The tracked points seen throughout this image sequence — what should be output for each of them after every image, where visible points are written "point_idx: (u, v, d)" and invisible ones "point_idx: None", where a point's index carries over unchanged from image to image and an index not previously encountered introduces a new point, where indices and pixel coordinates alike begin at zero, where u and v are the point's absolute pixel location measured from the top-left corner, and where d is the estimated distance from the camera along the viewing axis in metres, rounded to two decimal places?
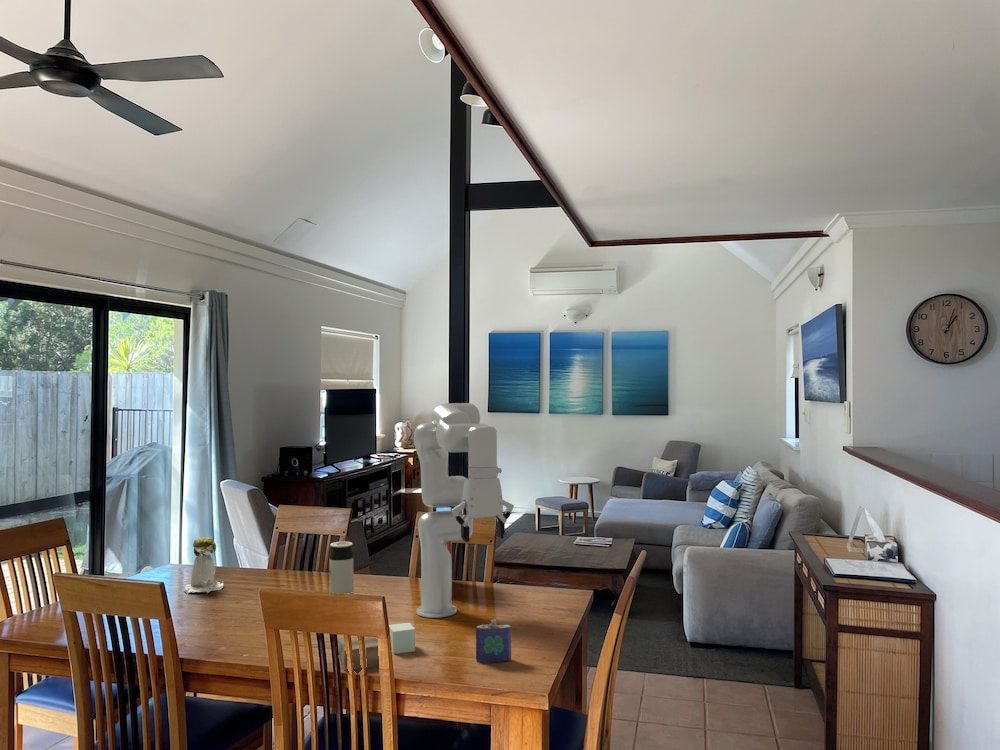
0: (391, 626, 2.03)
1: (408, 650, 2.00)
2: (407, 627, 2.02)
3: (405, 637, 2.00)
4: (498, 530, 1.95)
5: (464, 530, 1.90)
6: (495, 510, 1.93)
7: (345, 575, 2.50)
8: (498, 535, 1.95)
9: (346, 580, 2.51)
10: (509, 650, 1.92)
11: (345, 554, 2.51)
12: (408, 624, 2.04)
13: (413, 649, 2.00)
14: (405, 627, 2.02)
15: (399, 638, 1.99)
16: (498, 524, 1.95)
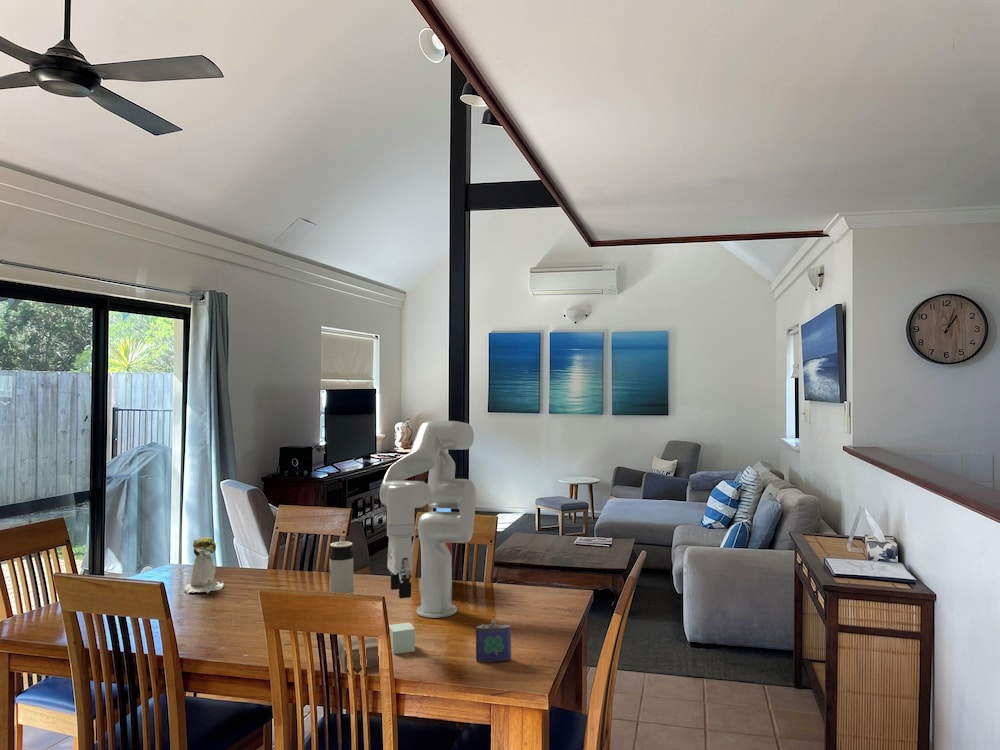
0: (391, 626, 2.03)
1: (408, 650, 2.00)
2: (407, 627, 2.02)
3: (405, 637, 1.99)
4: (396, 582, 2.06)
5: None
6: None
7: (345, 575, 2.50)
8: (396, 587, 2.06)
9: (346, 580, 2.51)
10: (509, 650, 1.92)
11: (345, 554, 2.51)
12: (408, 624, 2.04)
13: (413, 649, 2.00)
14: (405, 627, 2.02)
15: (399, 638, 1.99)
16: (397, 577, 2.06)
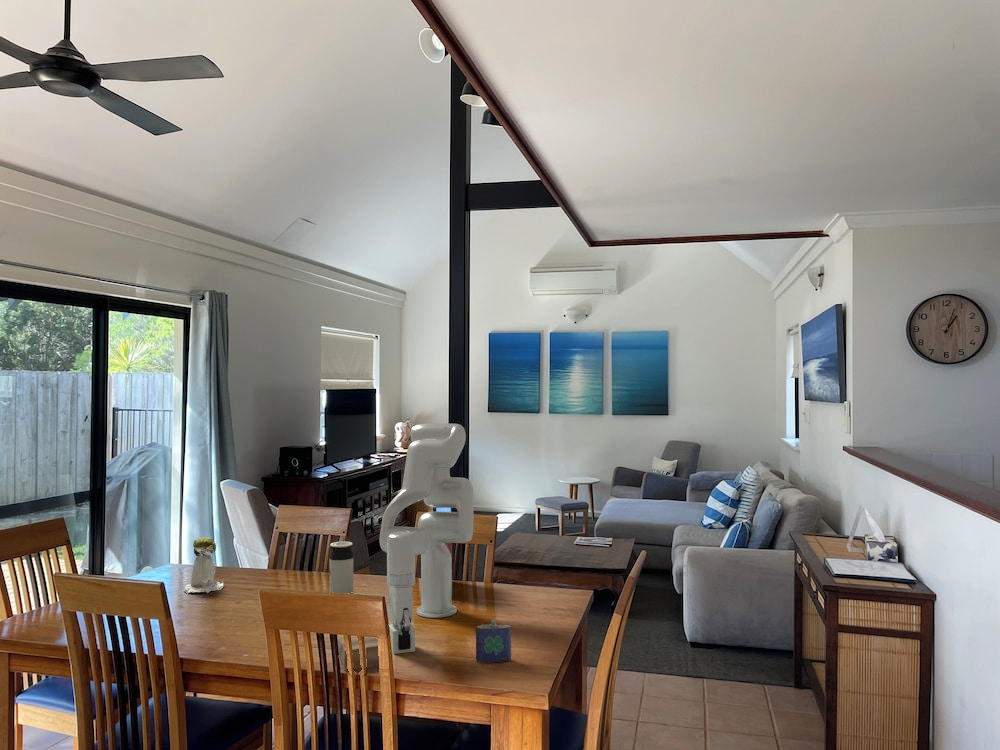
0: (391, 626, 2.03)
1: (408, 650, 2.00)
2: None
3: None
4: None
5: None
6: None
7: (345, 575, 2.50)
8: None
9: (346, 580, 2.51)
10: (509, 650, 1.92)
11: (345, 554, 2.51)
12: None
13: (413, 649, 2.00)
14: None
15: None
16: None
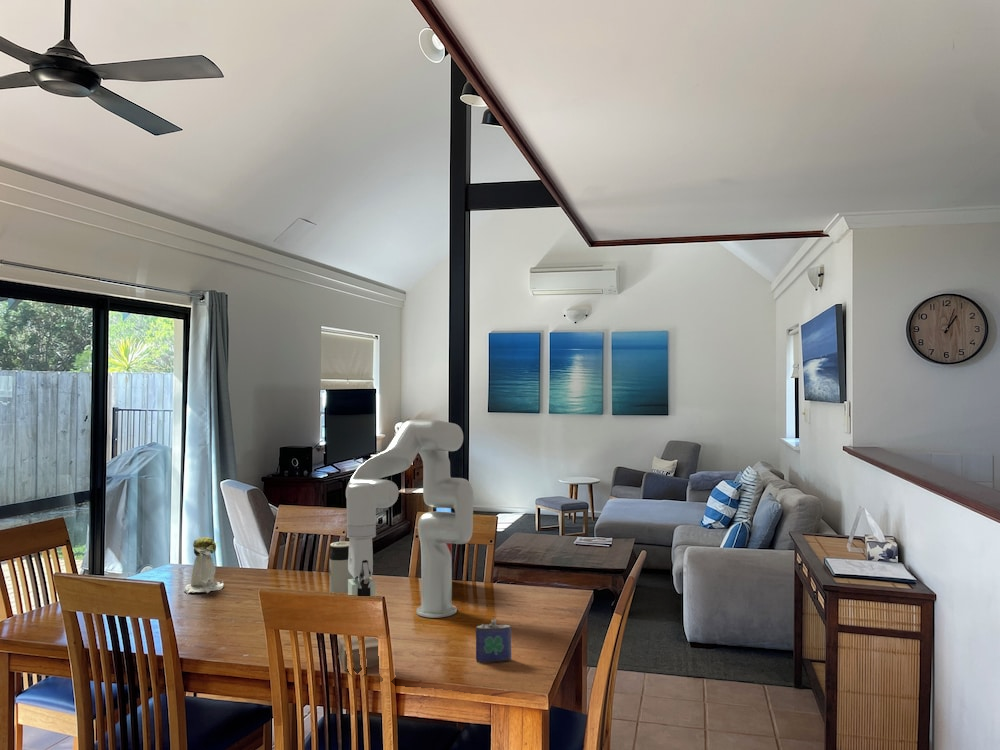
0: (351, 580, 1.94)
1: None
2: None
3: None
4: None
5: (367, 592, 1.90)
6: None
7: (345, 575, 2.50)
8: None
9: (346, 580, 2.51)
10: (509, 650, 1.92)
11: (345, 554, 2.51)
12: None
13: None
14: None
15: None
16: None
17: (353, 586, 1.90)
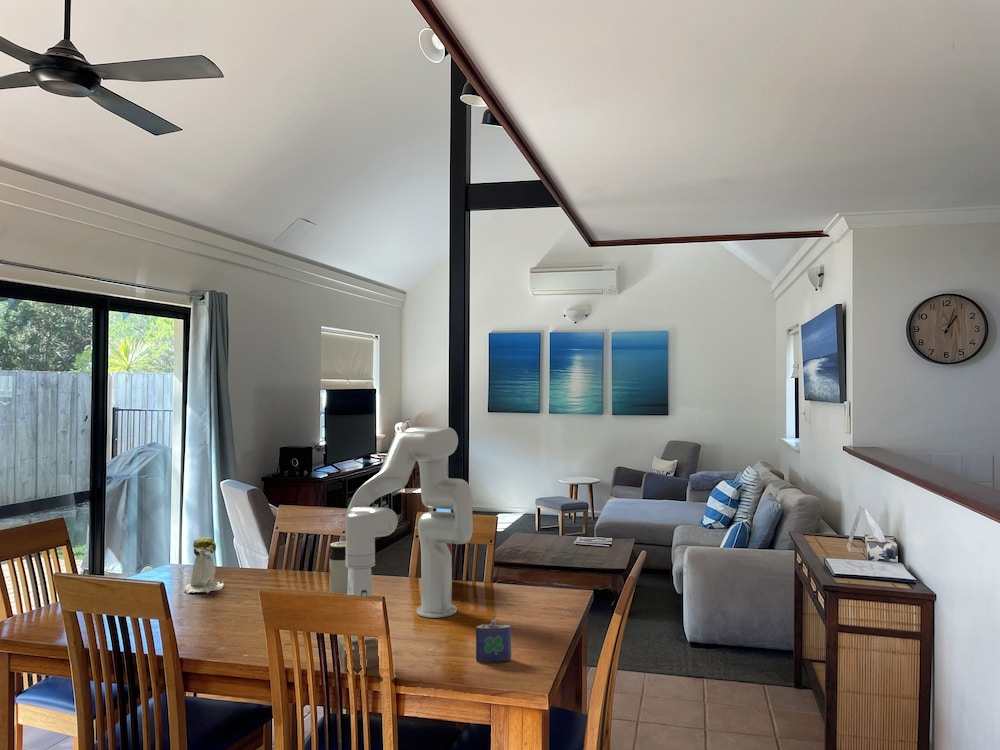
0: None
1: None
2: None
3: None
4: None
5: None
6: None
7: (345, 575, 2.50)
8: None
9: (346, 580, 2.51)
10: (509, 650, 1.92)
11: (345, 554, 2.51)
12: None
13: None
14: None
15: None
16: None
17: None
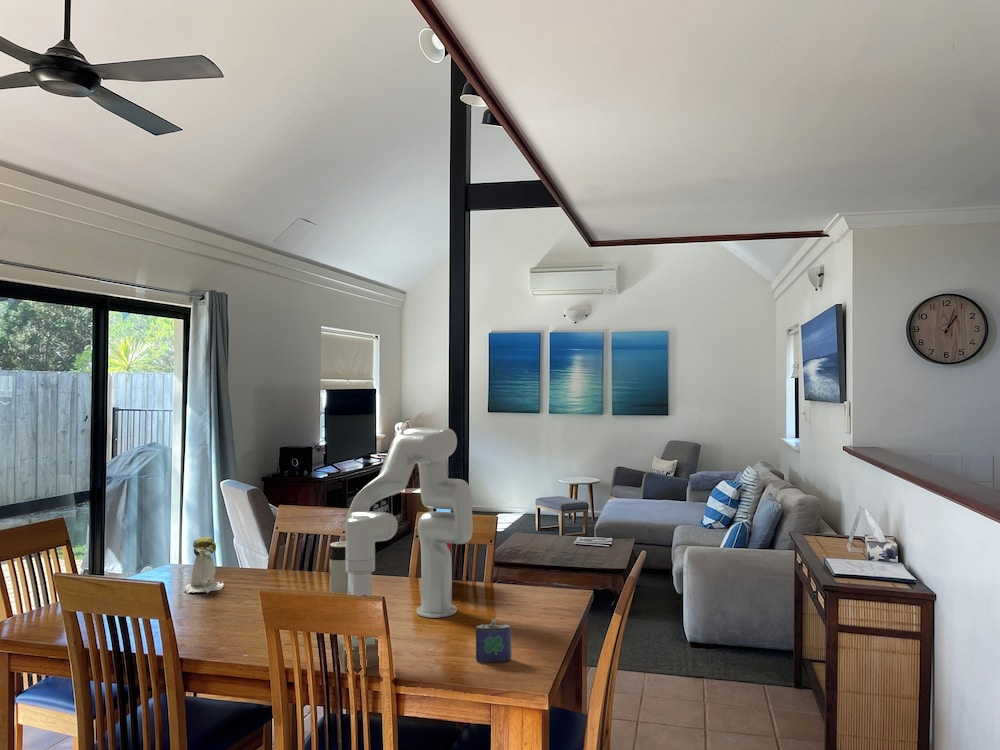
0: None
1: (367, 643, 1.91)
2: None
3: None
4: None
5: None
6: None
7: (345, 575, 2.50)
8: None
9: (346, 580, 2.51)
10: (509, 650, 1.92)
11: (345, 554, 2.51)
12: None
13: (372, 642, 1.91)
14: None
15: None
16: None
17: None
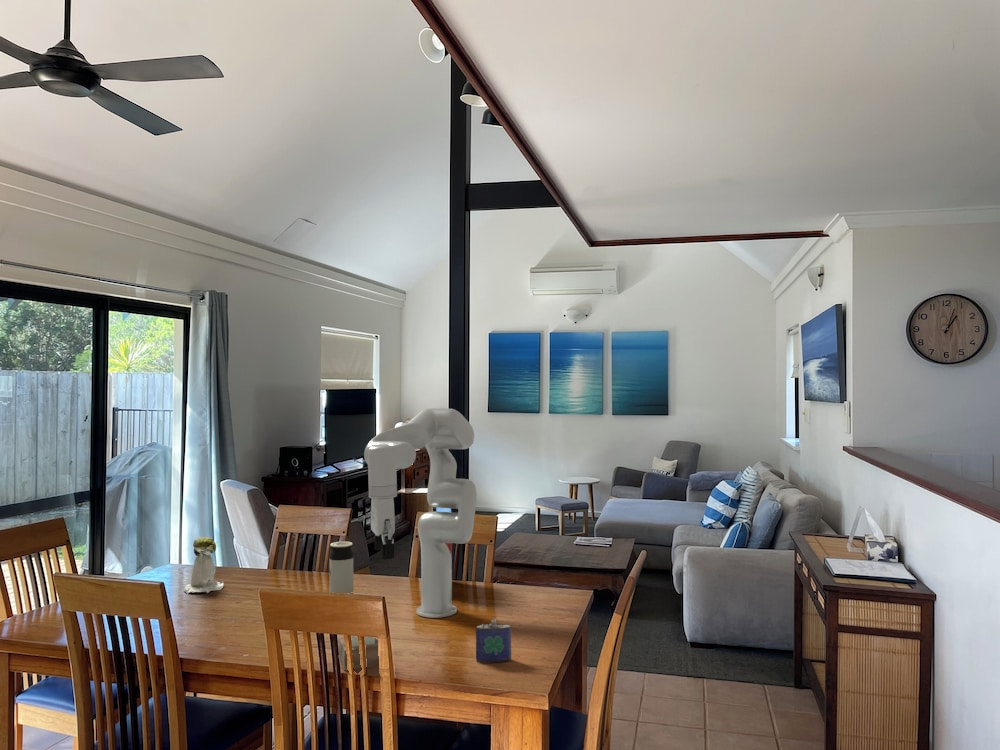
0: None
1: (367, 643, 1.91)
2: None
3: None
4: (380, 543, 2.05)
5: (391, 547, 1.96)
6: None
7: (345, 575, 2.50)
8: (380, 548, 2.05)
9: (346, 580, 2.51)
10: (509, 650, 1.92)
11: (345, 554, 2.51)
12: None
13: (372, 642, 1.91)
14: None
15: None
16: (380, 537, 2.05)
17: None
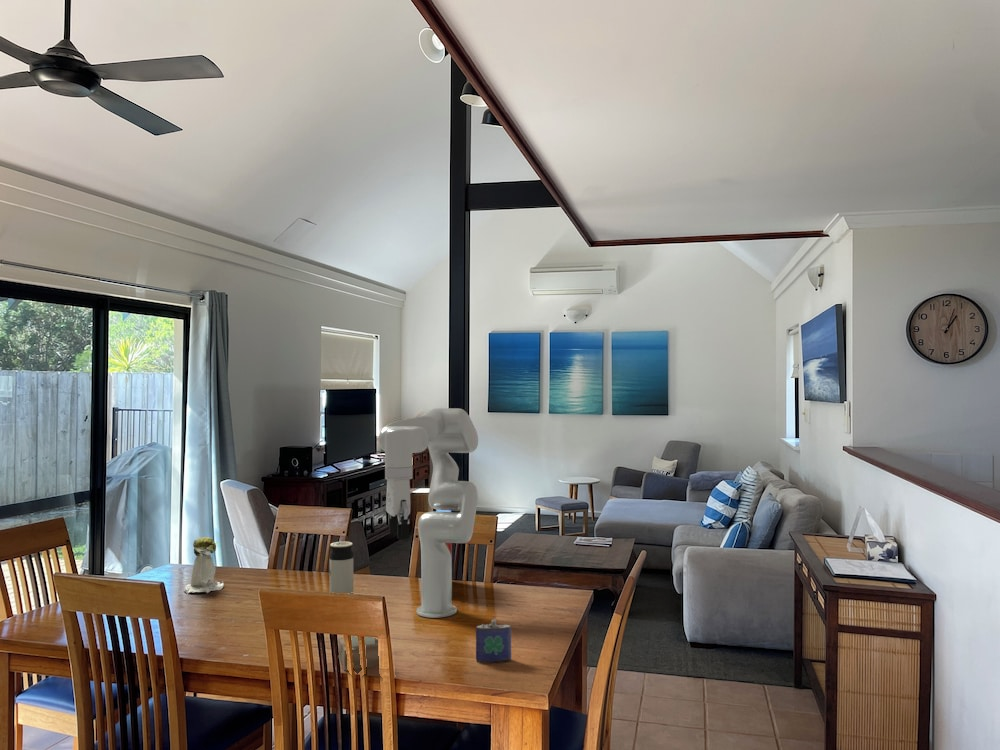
0: None
1: (367, 643, 1.91)
2: None
3: None
4: (395, 526, 2.09)
5: None
6: None
7: (345, 575, 2.50)
8: (395, 530, 2.09)
9: (346, 580, 2.51)
10: (509, 650, 1.92)
11: (345, 554, 2.51)
12: None
13: (372, 642, 1.91)
14: None
15: None
16: (395, 520, 2.09)
17: None
